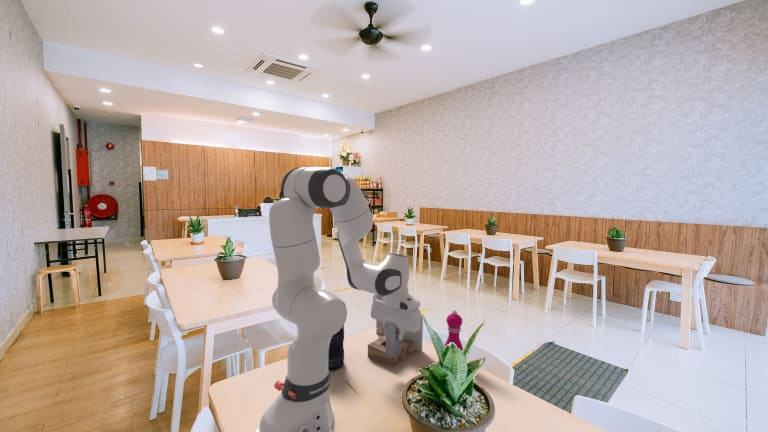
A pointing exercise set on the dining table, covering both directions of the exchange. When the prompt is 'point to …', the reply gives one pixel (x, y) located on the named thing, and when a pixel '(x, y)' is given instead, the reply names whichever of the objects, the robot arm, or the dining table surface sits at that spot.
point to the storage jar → (336, 351)
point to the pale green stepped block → (416, 337)
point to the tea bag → (379, 327)
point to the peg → (392, 340)
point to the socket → (378, 353)
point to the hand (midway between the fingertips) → (393, 337)
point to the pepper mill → (454, 329)
